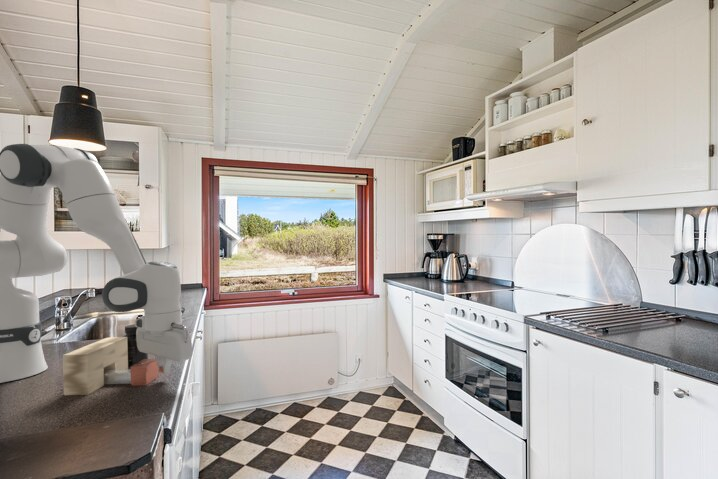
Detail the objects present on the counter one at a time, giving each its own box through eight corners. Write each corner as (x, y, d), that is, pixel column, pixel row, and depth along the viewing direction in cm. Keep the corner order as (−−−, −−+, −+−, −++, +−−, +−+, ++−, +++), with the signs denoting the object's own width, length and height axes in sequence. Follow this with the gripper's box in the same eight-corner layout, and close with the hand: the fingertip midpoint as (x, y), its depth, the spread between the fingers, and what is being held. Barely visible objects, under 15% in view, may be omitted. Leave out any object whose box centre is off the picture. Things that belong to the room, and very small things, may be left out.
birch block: (63, 395, 90) (62, 355, 90) (107, 371, 106) (106, 337, 106) (88, 394, 90) (87, 354, 90) (128, 371, 106) (127, 336, 106)
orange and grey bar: (158, 376, 101) (158, 358, 101) (146, 385, 95) (145, 366, 95) (108, 378, 101) (107, 360, 101) (92, 386, 95) (92, 367, 95)
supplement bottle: (131, 360, 116) (130, 323, 116) (152, 360, 115) (151, 322, 115) (116, 368, 109) (115, 328, 109) (139, 368, 109) (138, 328, 108)
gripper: (198, 322, 96) (199, 375, 96) (153, 315, 106) (154, 362, 106) (175, 328, 90) (176, 383, 90) (131, 320, 101) (132, 369, 101)
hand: (164, 372), depth 98 cm, fingers closed
